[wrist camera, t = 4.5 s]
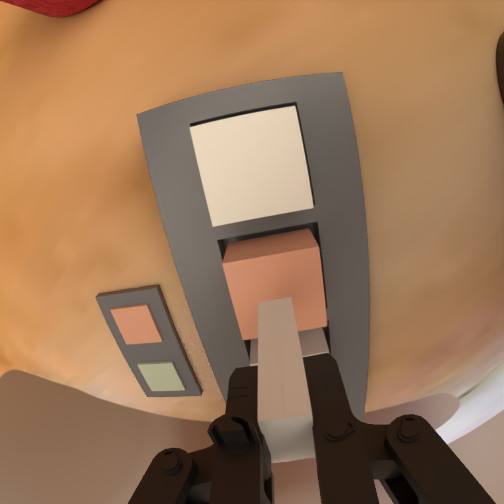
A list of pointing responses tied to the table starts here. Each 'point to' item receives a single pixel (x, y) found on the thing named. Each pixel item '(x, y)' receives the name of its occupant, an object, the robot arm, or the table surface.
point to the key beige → (309, 343)
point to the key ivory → (252, 165)
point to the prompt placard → (149, 341)
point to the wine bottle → (53, 6)
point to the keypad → (268, 217)
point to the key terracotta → (276, 278)
